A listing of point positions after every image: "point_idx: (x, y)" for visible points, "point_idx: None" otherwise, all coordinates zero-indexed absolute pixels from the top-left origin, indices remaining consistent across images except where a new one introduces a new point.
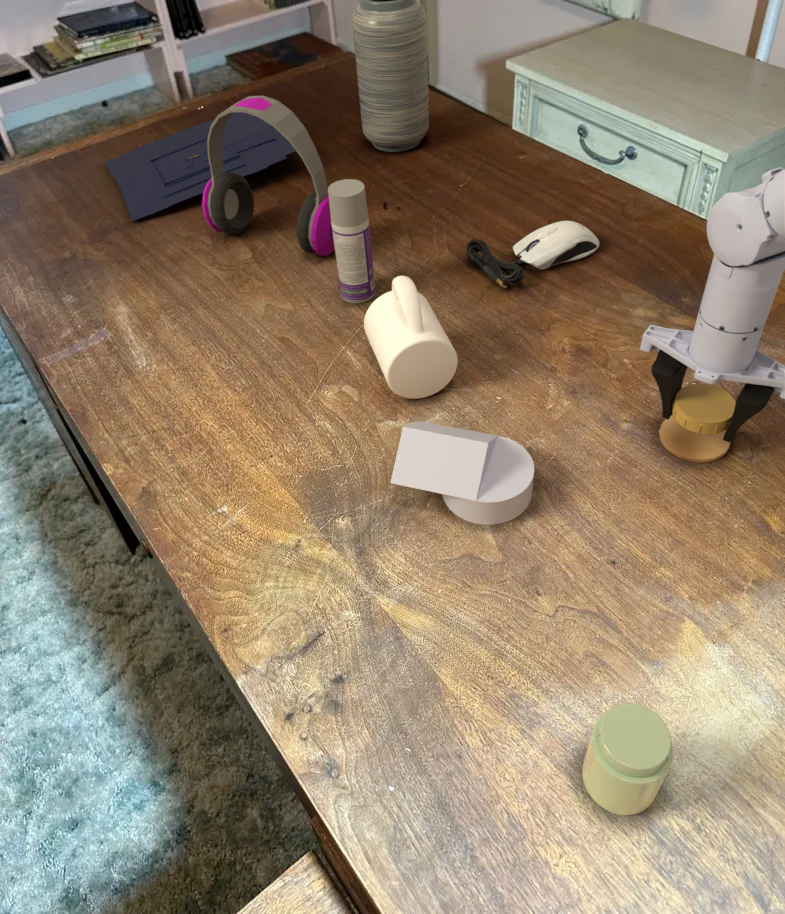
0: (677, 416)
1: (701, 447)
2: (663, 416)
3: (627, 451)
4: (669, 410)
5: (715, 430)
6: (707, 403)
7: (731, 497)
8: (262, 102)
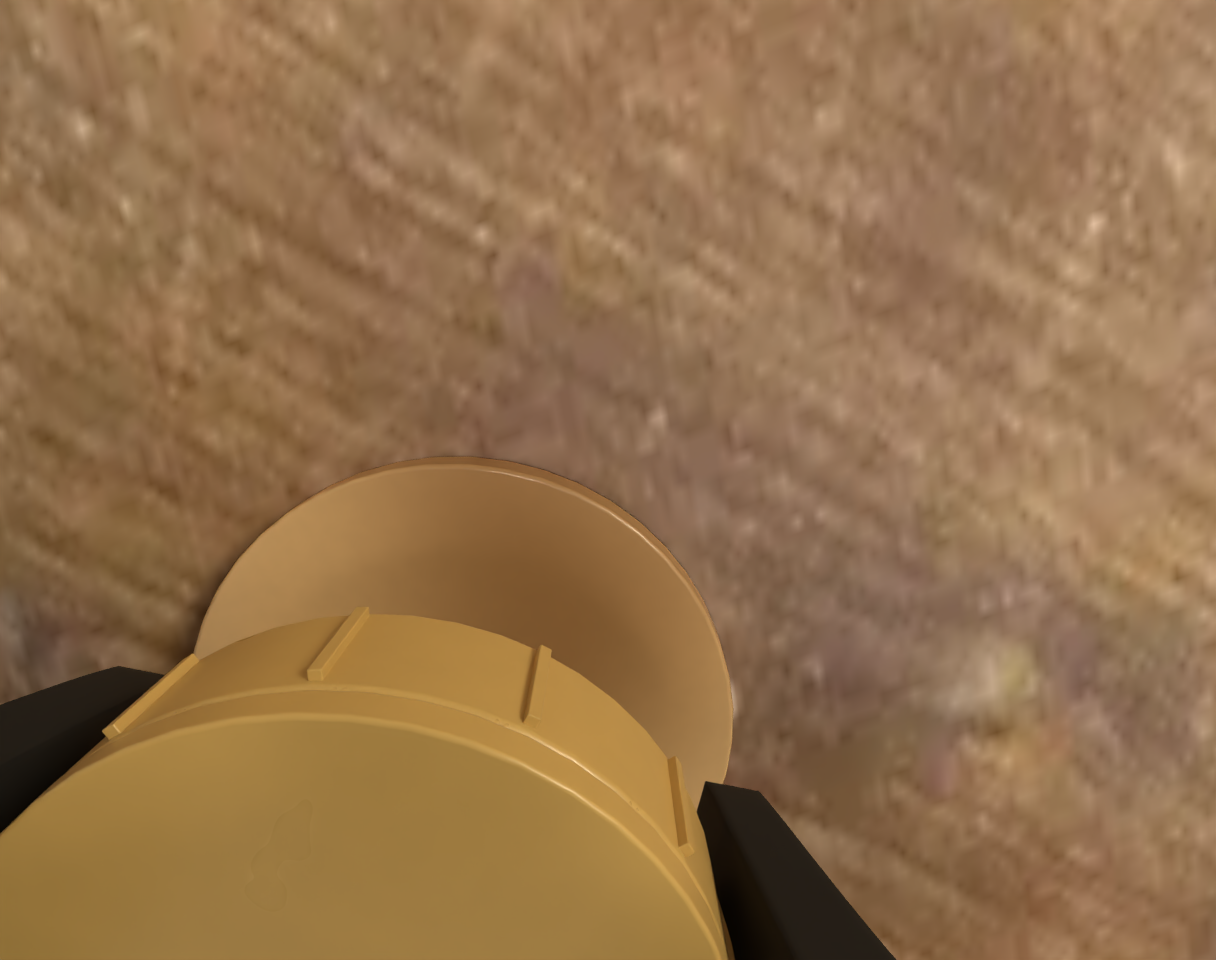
0: (645, 771)
1: (384, 612)
2: (761, 796)
3: (944, 401)
4: (744, 853)
5: (162, 683)
6: None
7: (45, 157)
8: None
